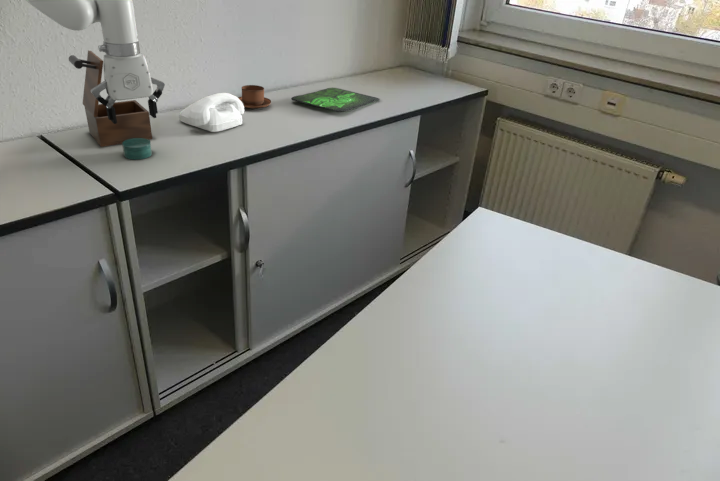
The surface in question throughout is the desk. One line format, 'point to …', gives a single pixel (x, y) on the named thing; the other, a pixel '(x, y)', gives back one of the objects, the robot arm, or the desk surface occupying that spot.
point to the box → (119, 123)
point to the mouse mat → (335, 99)
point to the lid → (90, 79)
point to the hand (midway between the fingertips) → (134, 119)
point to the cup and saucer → (254, 97)
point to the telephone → (214, 112)
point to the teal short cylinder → (137, 148)
